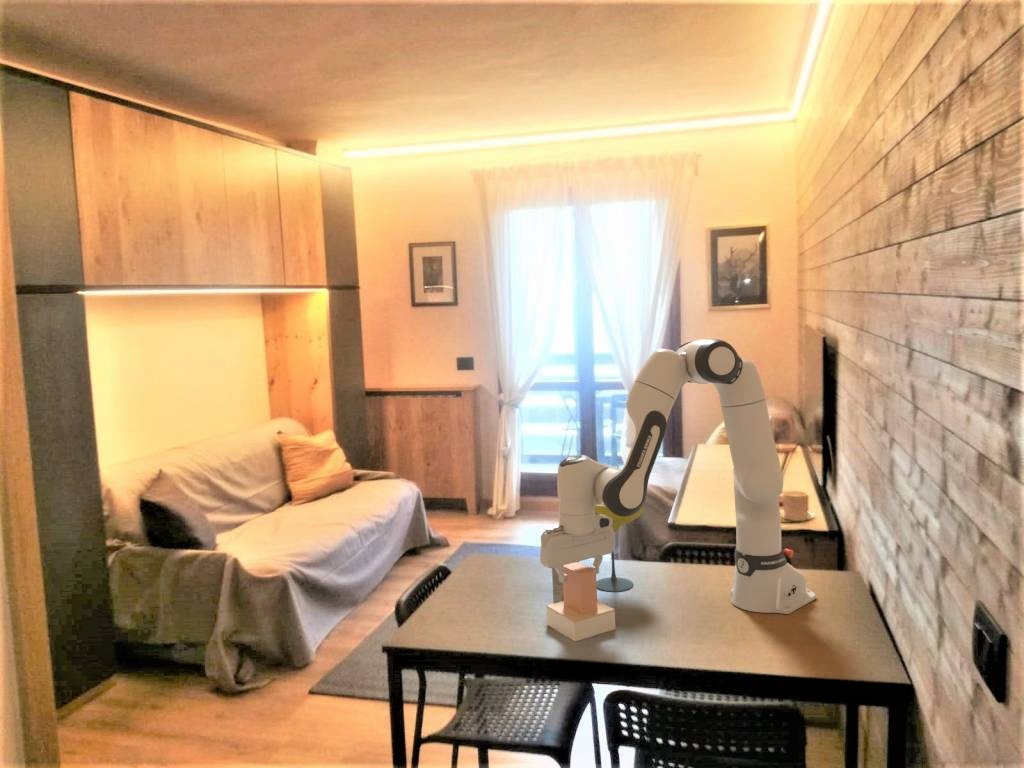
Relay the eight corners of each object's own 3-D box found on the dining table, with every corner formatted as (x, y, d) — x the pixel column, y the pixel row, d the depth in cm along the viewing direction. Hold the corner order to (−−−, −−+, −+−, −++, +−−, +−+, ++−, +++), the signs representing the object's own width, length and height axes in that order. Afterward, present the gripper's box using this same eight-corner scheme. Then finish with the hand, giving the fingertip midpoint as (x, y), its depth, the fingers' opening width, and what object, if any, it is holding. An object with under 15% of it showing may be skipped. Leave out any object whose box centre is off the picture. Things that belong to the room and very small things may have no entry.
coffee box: (557, 591, 215) (555, 535, 214) (580, 592, 214) (578, 535, 212) (552, 604, 206) (550, 545, 205) (576, 604, 205) (574, 545, 203)
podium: (586, 613, 199) (586, 594, 198) (615, 629, 188) (614, 609, 188) (547, 624, 193) (546, 605, 192) (574, 641, 182) (574, 621, 182)
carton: (578, 600, 195) (577, 561, 194) (597, 610, 188) (596, 570, 187) (563, 604, 192) (562, 565, 192) (582, 614, 186) (580, 574, 185)
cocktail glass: (585, 573, 229) (582, 490, 226) (647, 574, 225) (644, 490, 223) (578, 595, 211) (574, 506, 209) (645, 597, 207) (642, 506, 205)
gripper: (547, 533, 180) (550, 590, 182) (617, 517, 190) (619, 572, 192) (533, 527, 186) (536, 583, 187) (602, 512, 196) (604, 565, 197)
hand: (579, 577), depth 189 cm, fingers open, 8 cm apart
